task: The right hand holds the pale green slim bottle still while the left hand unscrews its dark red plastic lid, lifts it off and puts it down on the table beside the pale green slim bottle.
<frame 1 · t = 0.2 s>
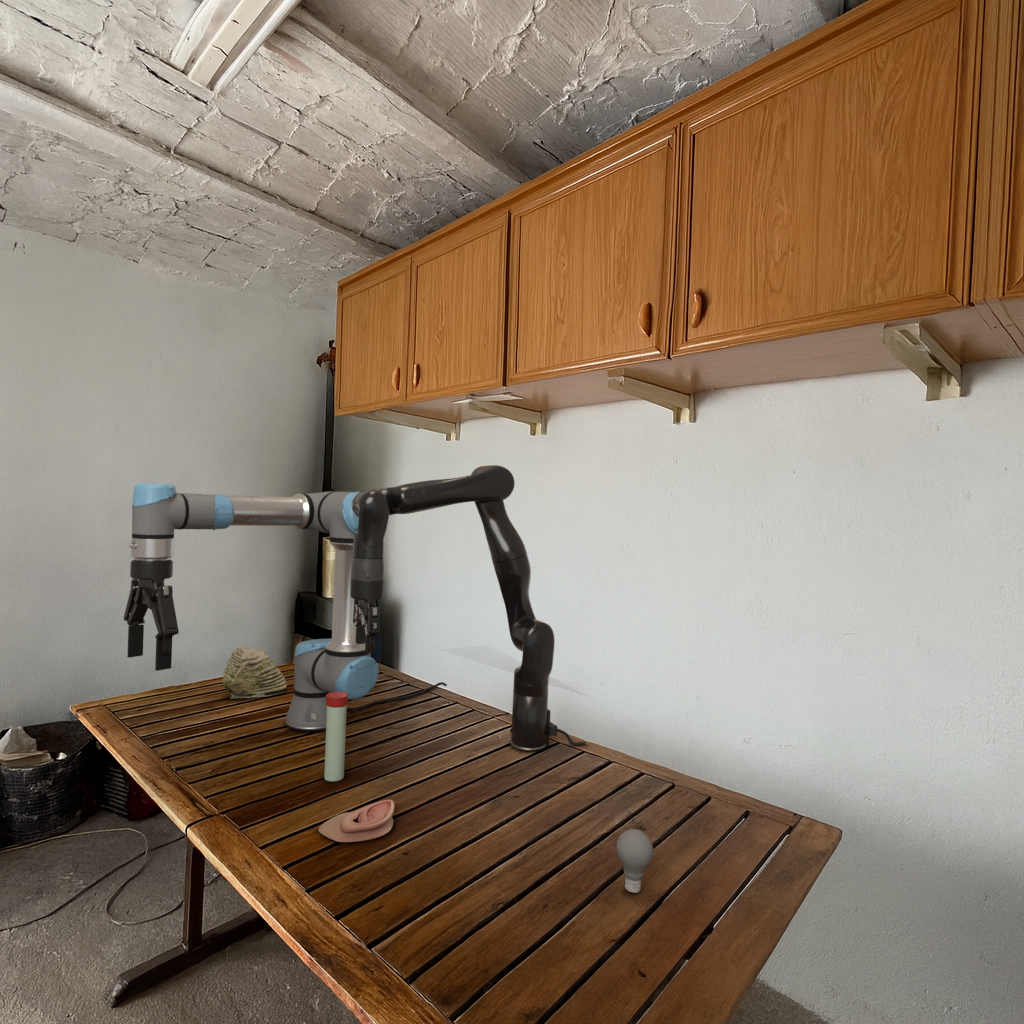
left hand: (148, 662, 129), 28 cm above the table, tool pointing down, fingers open, 13 cm apart
right hand: (365, 647, 145), 29 cm above the table, tool pointing down, fingers open, 8 cm apart
anatomical model: (356, 828, 122), on the table
fossil: (254, 694, 198), on the table
pale green slim bottle: (334, 777, 143), on the table
light bulb: (632, 891, 106), on the table
lid: (337, 696, 143), point 18 cm above the table, screwed on, not yet turned
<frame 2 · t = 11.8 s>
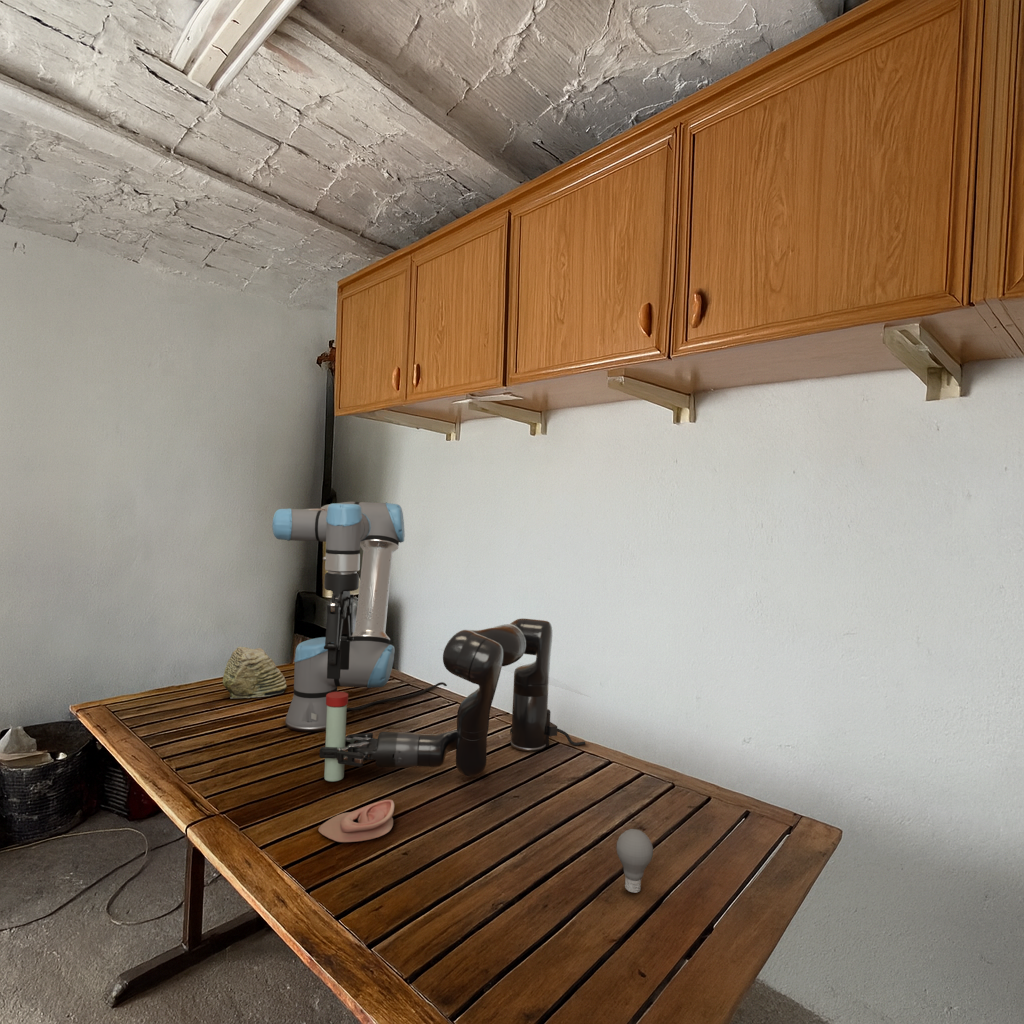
left hand: (338, 673, 143), 24 cm above the table, tool pointing down, fingers open, 7 cm apart
right hand: (323, 748, 143), 7 cm above the table, tool horizontal, fingers closed on pale green slim bottle, 4 cm apart
pale green slim bottle: (334, 777, 143), on the table, touching right hand
everything else where it was.
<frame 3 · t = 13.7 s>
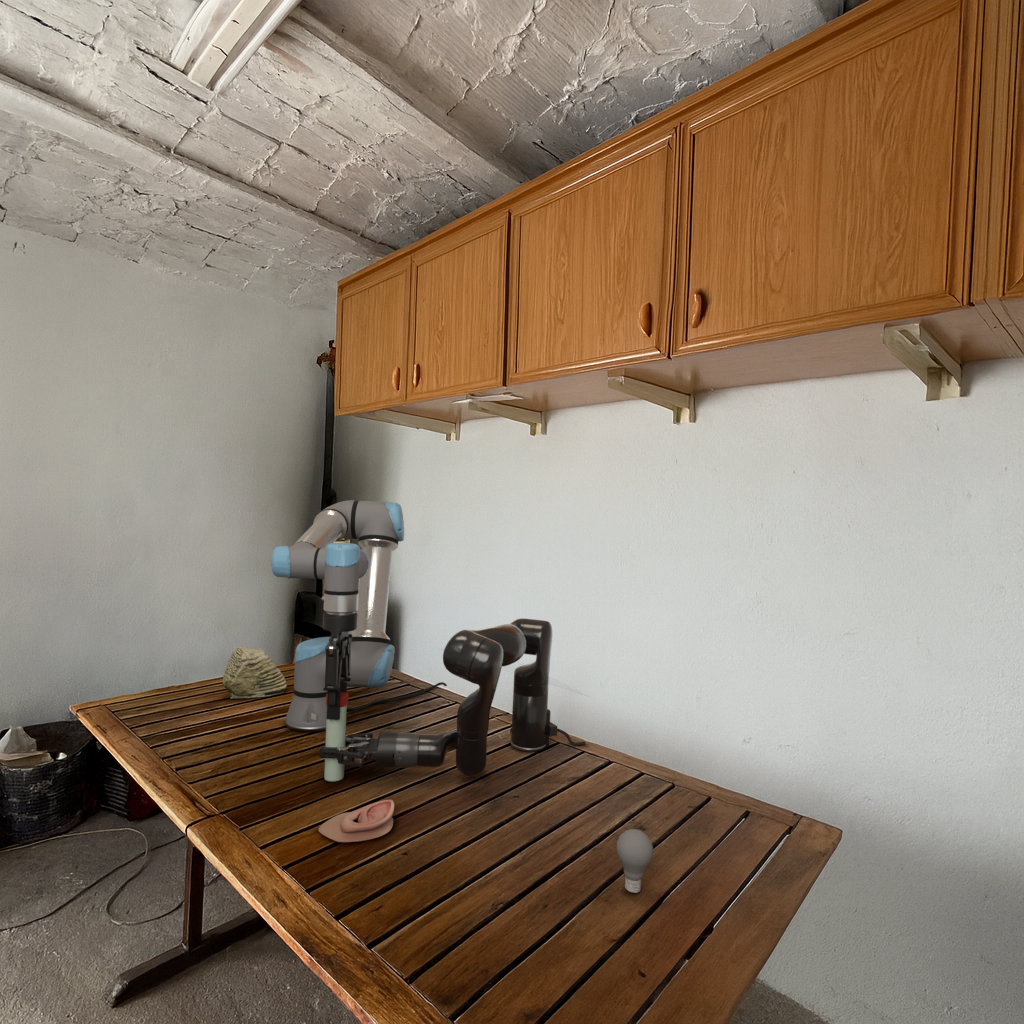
left hand: (336, 714, 143), 14 cm above the table, tool pointing down, fingers closed on lid, 5 cm apart
right hand: (323, 748, 143), 7 cm above the table, tool horizontal, fingers closed on pale green slim bottle, 4 cm apart
pale green slim bottle: (334, 777, 143), on the table, touching right hand
lid: (337, 696, 143), point 18 cm above the table, screwed on, not yet turned, touching left hand
everything else where it was.
when the left hand's fingers open (15 cm above the table, at t = 15.0 s): lid stays where it is, point 19 cm above the table.
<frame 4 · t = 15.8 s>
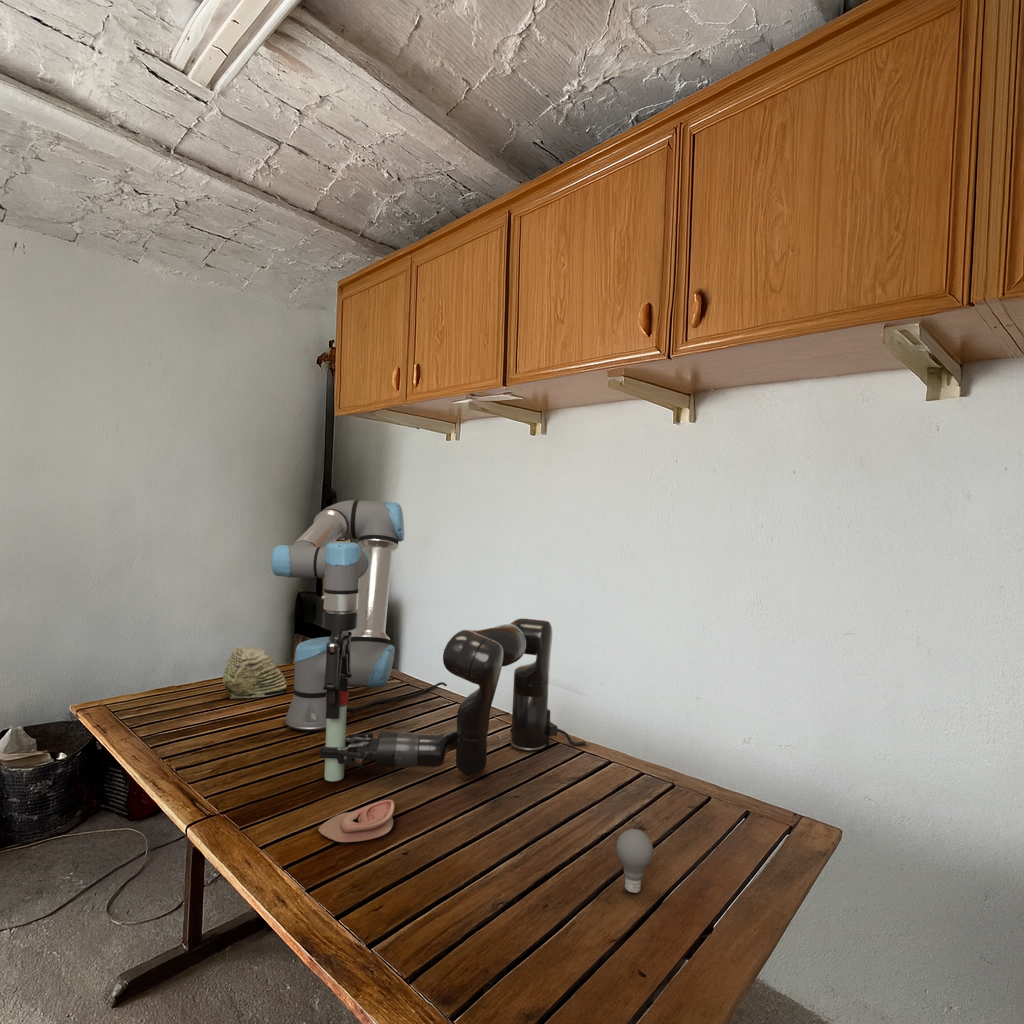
left hand: (336, 712, 143), 15 cm above the table, tool pointing down, fingers open, 7 cm apart
right hand: (323, 748, 143), 7 cm above the table, tool horizontal, fingers closed on pale green slim bottle, 4 cm apart
pale green slim bottle: (334, 777, 143), on the table, touching right hand
lid: (337, 695, 143), point 19 cm above the table, turned 86° so far, risen 0.2 cm, still on its thread
everything else where it was.
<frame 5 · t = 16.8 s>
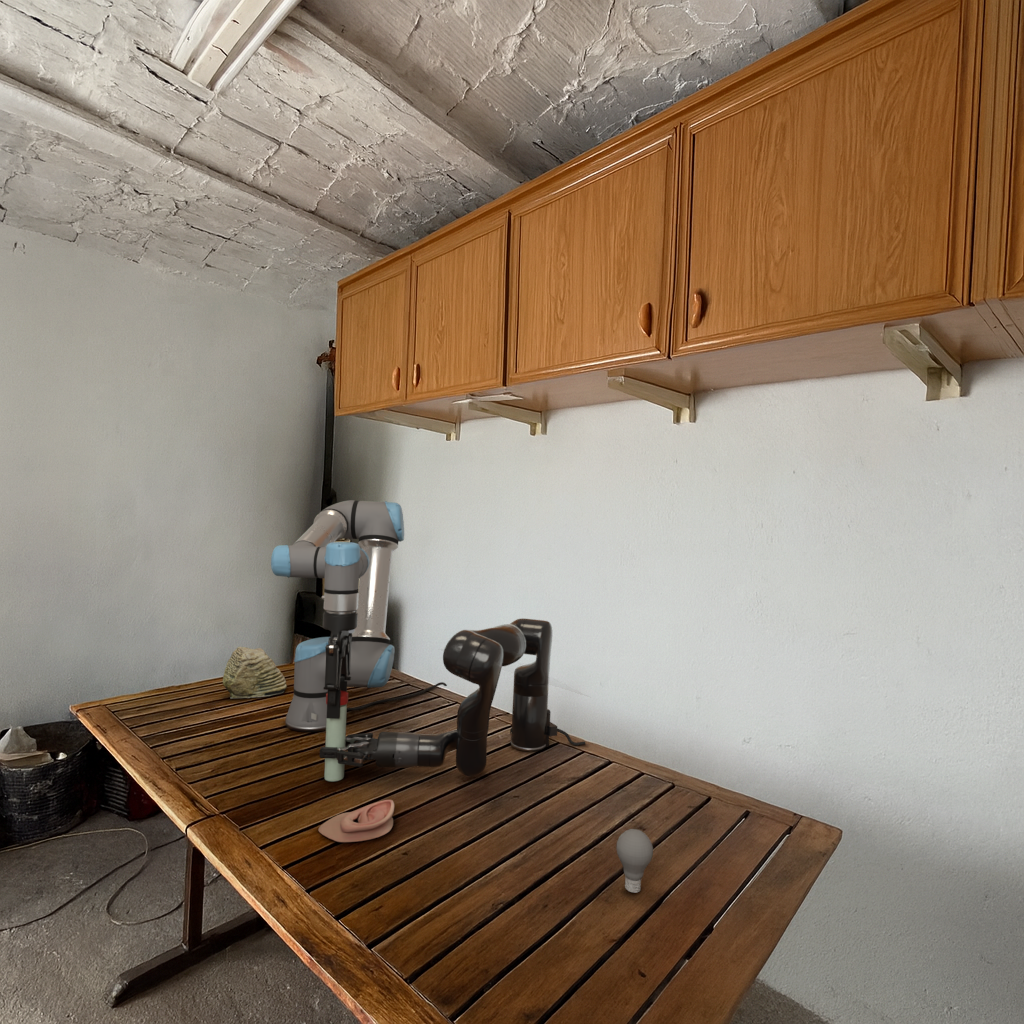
left hand: (336, 713, 143), 15 cm above the table, tool pointing down, fingers closed on lid, 5 cm apart
right hand: (323, 748, 143), 7 cm above the table, tool horizontal, fingers closed on pale green slim bottle, 4 cm apart
pale green slim bottle: (334, 777, 143), on the table, touching right hand
lid: (337, 695, 143), point 19 cm above the table, turned 86° so far, risen 0.2 cm, still on its thread, touching left hand
everything else where it was.
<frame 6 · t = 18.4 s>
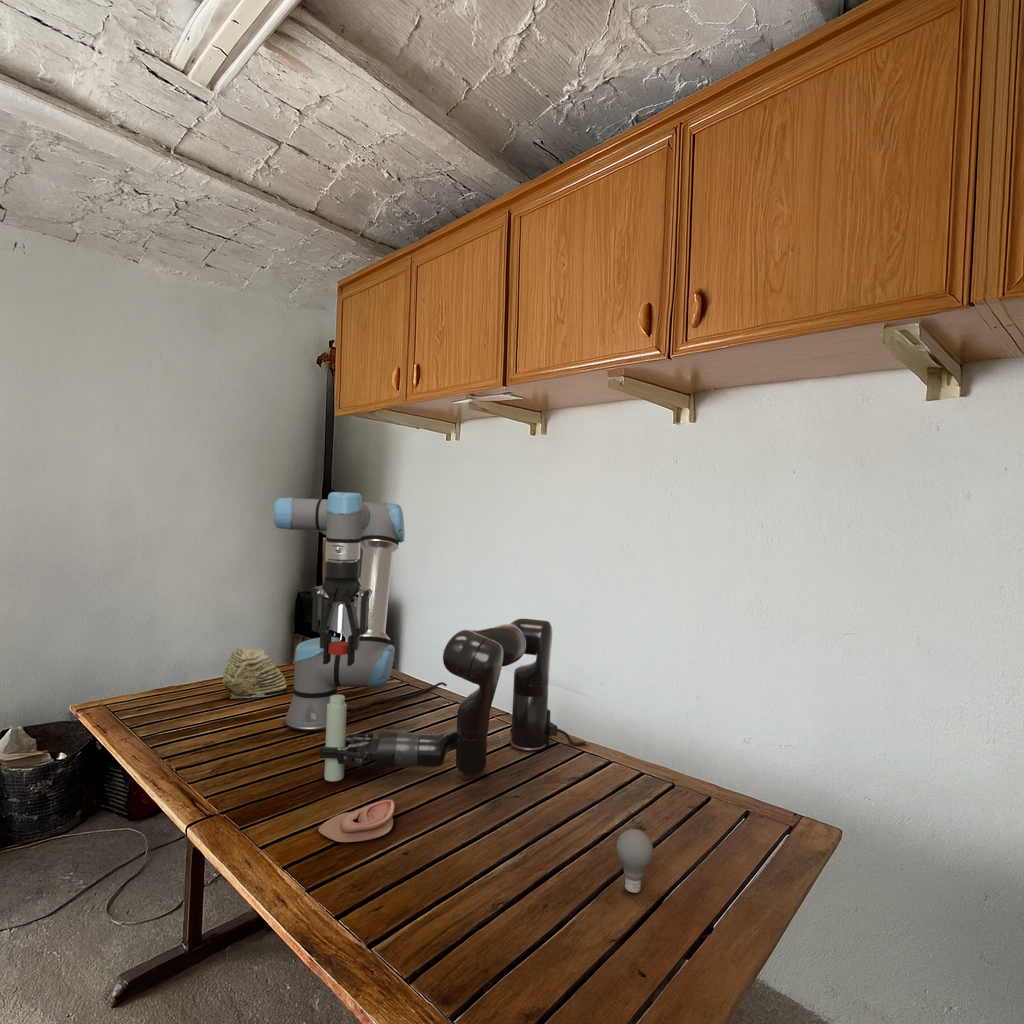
left hand: (338, 663, 143), 26 cm above the table, tool pointing down, fingers closed on lid, 5 cm apart
right hand: (323, 748, 143), 7 cm above the table, tool horizontal, fingers closed on pale green slim bottle, 4 cm apart
pale green slim bottle: (334, 777, 143), on the table, touching right hand
lid: (339, 645, 143), point 30 cm above the table, off its thread, touching left hand
everything else where it was.
when the left hand's fingers open (0 cm above the table, at t = 24.4 s): lid drops 3 cm, point 2 cm above the table.
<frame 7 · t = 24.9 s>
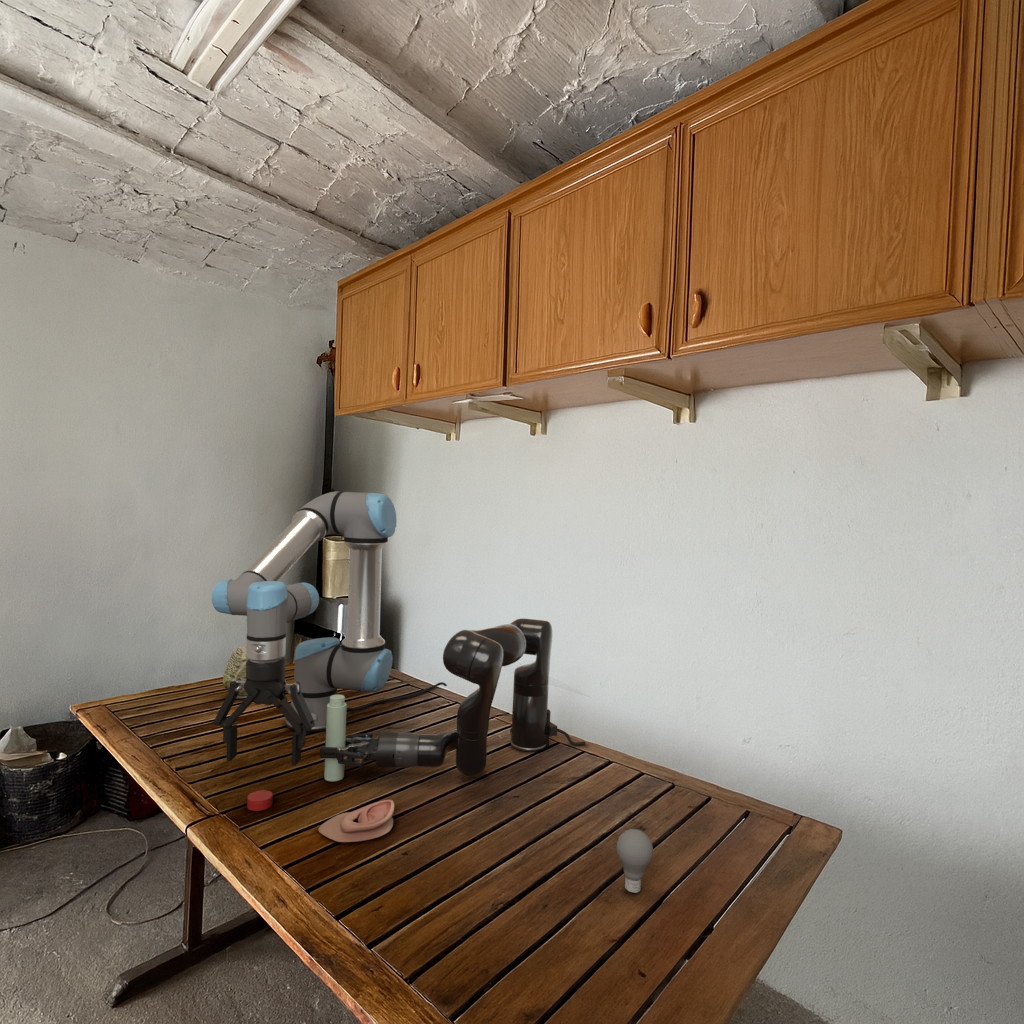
left hand: (263, 760, 130), 9 cm above the table, tool pointing down, fingers open, 13 cm apart
right hand: (323, 748, 143), 7 cm above the table, tool horizontal, fingers closed on pale green slim bottle, 4 cm apart
pale green slim bottle: (334, 777, 143), on the table, touching right hand
lid: (260, 797, 129), point 2 cm above the table, off its thread
everything else where it was.
when the right hand's fingers open (7 cm above the table, at t = 24.9 s): pale green slim bottle stays where it is, on the table.
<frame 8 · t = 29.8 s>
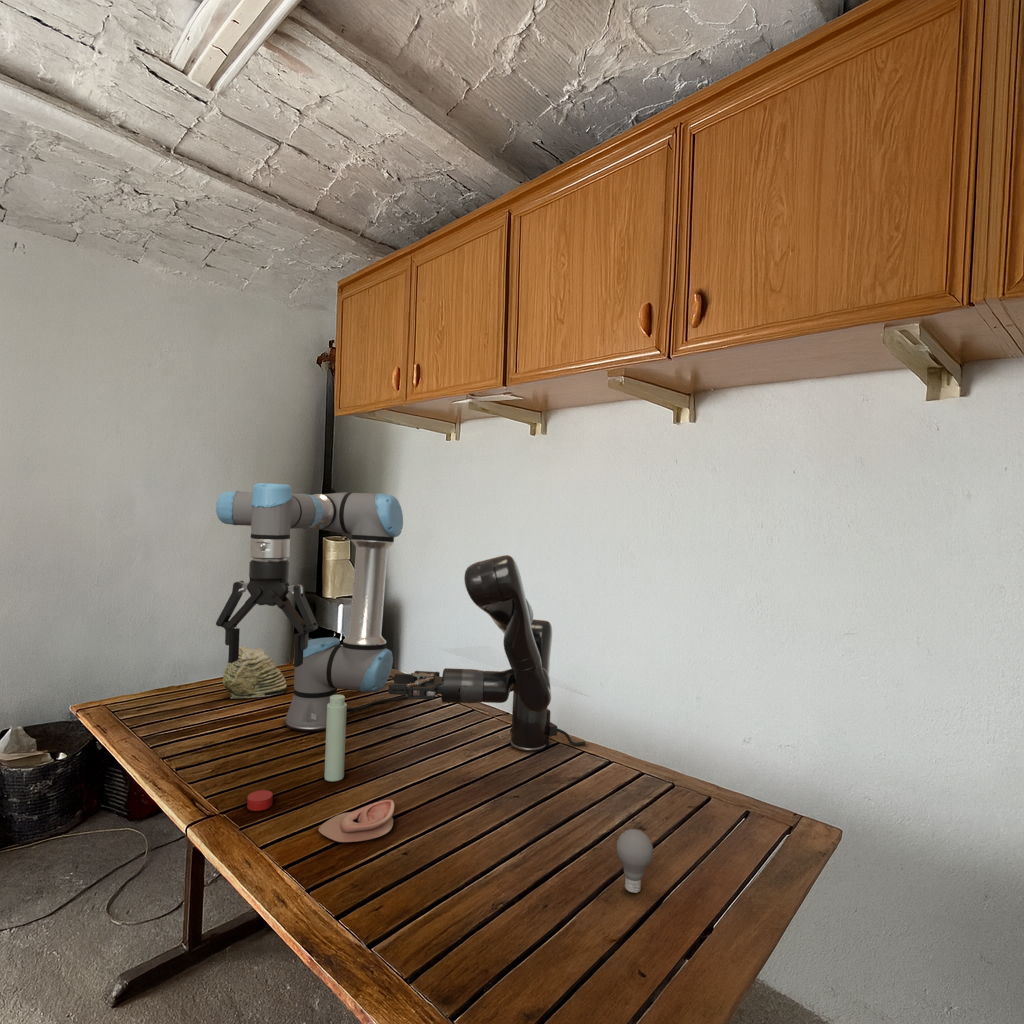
left hand: (265, 663, 129), 29 cm above the table, tool pointing down, fingers open, 13 cm apart
right hand: (391, 683, 143), 22 cm above the table, tool horizontal, fingers open, 8 cm apart
pale green slim bottle: (334, 777, 143), on the table
everything else where it was.
at the end: lid came off its thread; lid point 1.6 cm above the table; the left hand is holding nothing; the right hand is holding nothing; pale green slim bottle tilted 0°; pale green slim bottle moved 0.0 cm from its start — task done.
